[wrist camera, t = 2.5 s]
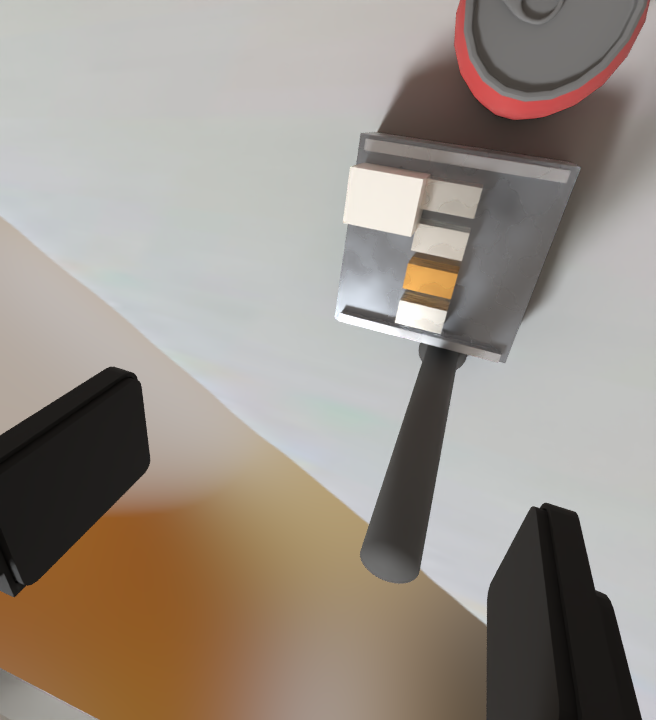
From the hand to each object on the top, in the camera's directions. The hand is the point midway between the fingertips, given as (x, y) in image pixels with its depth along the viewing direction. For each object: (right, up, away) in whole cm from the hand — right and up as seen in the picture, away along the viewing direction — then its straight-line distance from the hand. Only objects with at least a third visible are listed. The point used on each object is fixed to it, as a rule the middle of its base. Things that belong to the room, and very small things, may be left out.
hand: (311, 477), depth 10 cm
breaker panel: (+8, +11, +20) cm, 24 cm away
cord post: (+9, +4, +24) cm, 26 cm away
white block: (+4, +13, +16) cm, 21 cm away
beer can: (+12, +20, +14) cm, 27 cm away
